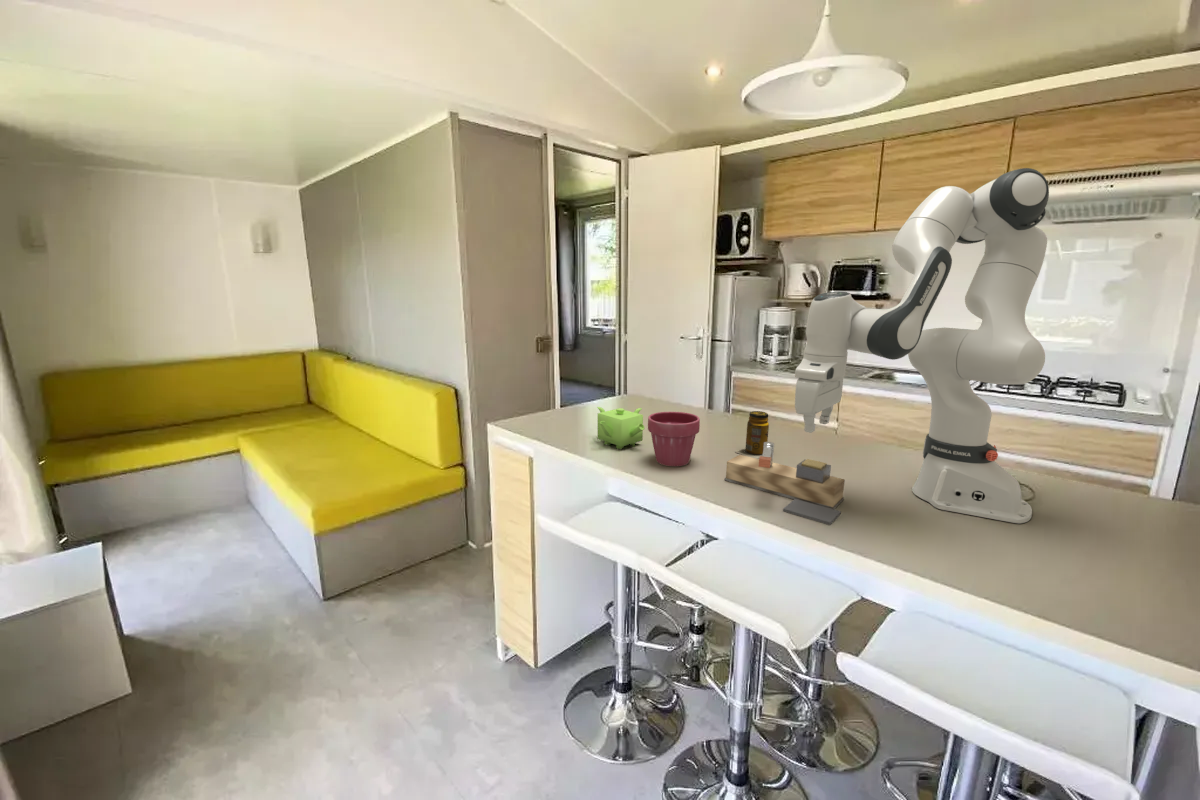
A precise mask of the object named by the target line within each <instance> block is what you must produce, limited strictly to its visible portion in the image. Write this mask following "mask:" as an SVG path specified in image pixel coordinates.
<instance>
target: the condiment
mask: <svg viewBox="0 0 1200 800" xmlns="http://www.w3.org/2000/svg"><path fill="white" fill-rule="evenodd" d="M748 415H749V416H748V421H747V425H746V435H745V436H746V438H745V448H742V449H739V450H737V451H735V453H737V454H739V455H743V456H747V457H752V458H756V459H759V458H760V456H762V455H763V447H764V442H769V441H768V440H769V438H768V437H769V430H770V429H769V428H770V427H769V426H770V424H769V413H767V412H765V411H761V410H760V411H759V410H753V411H750V412H749V413H748Z"/></svg>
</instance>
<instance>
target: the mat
mask: <svg viewBox="0 0 1200 800" xmlns="http://www.w3.org/2000/svg"><path fill="white" fill-rule="evenodd" d="M782 512H784V513H788V514H791V515H794V516H798V517H802V518H805V519H809V520H811V521H816V522H818V523H821V522H822V523H823V524H825V525H829V526H831V525H832V524H833V523H834V522H835V521H836V519H838V518H839V516H840V515H841V513H842V511H841V510H838V509H836V508H835V509H831V508H827V507H824V506H820V505H816V504H813V503H809V502H805V501H802V500H798V499H792V500H791V501H790V502H789V503H788V504H787V505H785V506H784V507H783V508H782ZM832 522H833V523H832Z"/></svg>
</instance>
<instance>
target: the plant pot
mask: <svg viewBox="0 0 1200 800" xmlns="http://www.w3.org/2000/svg"><path fill="white" fill-rule="evenodd" d="M700 419H701V418H700V417H699V416H698V415H695V414H694V413H689V412H685V411H684V412H682V411H659V412H655V413H651V414H650V415H649V416H648V417H647V430H648V432H649V433H650V434H651V436H650V437H651V440H652V446H653V452H654V455H655V460H656V462H657V463H658V464H660V465H662V466H667V467H682V466H686V465H688V464H689V463H690V459H691V455H692V451H693V447H694V444H695V439H696V436H697V434H698V433H699V432H700V427H701V426H700V425H701V423H700V421H701V420H700Z"/></svg>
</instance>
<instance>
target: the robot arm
mask: <svg viewBox="0 0 1200 800" xmlns="http://www.w3.org/2000/svg"><path fill="white" fill-rule="evenodd" d="M1049 189H1050V187H1049V182H1048V180H1047V179H1046V177H1045V176H1044V174H1042V173H1041V172H1040V171H1039V170H1037V169H1034V168H1029V167H1024V168H1022V167H1021V168H1017V169H1014V170H1010V171H1008V172H1005V173H1003V174H1000V176H998V177H997V178H994V179H992V180H991V181H988V182H987V183H985V184H984V185H982V186H980V187H979V188H977V189H975V191H973V192H971V193H970V192H968V191H967V190H965V189H964V188H962V187H959V186H955V185H945V186H941V187H940V188H939V187H938V188H937V189H935V190H934V191H932V192H931V193H930V194H929V195H928V196H927V197H926V198H925V199H924V200H923V201H921V203H920V204H919V205H918V206H917V207H916V209H914V210H913V212H912V213H911V214H910V216H908V218H907V220H906V221H905V223H904V224H903V225H902V226H901V228H899V231H898V232H897V233H896V235H895V238H894V240H893V242H892V247H891V248H892V255H893V257H894V259H895V261H896V263H897V264H898V265H899V266H900V267H902V269H904V270H905V271H906V272H908V273H910V274H911V275H913V277H912V279H911V281H910V283H909V285H908V287H907V289H906V291H905V293H903V294H904V295H903V296H902V298H901V299H900V302H899V303H898V304H896V305H895V306H893V307H891V308H887V309H883V308H882V309H881V308H871V307H866V306H865V305H863V304H860V303H859V302H858V301H856V300H855V299H854V298H853V297H852V294H851V293H850V292H848V291H830V292H823V293H820V294H818V295H816V296H815V297H813V299H812V301H811V303H810V305H809V309H808V313H807V314H808V315H807V319H806V320H807V321H806V329H805V335H806V336H805V337H806V345H805V347H804V349H803V356H802V357H803V358H802V359H801V362H800V363H799V365H797V366H796V368H795V371H794V376H795V378H796V379H797V380H796V384H795V390H794V391H795V393H794V396H795V397H794V410H795V412H796V414H797V415H802V417H803V421H804V422H803V423H804V432H805V433H809V434H812V433H813V432H815V430H816V423H815V418H816V415H817V414H819V413H820V412H821V414H820V415H819V424H822V425H827V424H829V423H830V418H831V415H832V412H833V409H834V406H835V405H837V404H838V403H840V402H841V400H842V396H843V387H844V386H843V385H844V378H845V376H846V371H847V370H846V369H847V361H848V351H854V352H858V353H863V354H867V355H874V356H877V357H880V358H884V359H888V360H893V361H894V360H899V359H902V358H904V357H905V356H907V355H908V359H909V361H910V364H911V366H912V367H913V368H914V369H916V370H917V371H916V372H918V373H919V374H920V375H921V377H922V378H923V380H924V381H925V383H926V386H927V389H928V392H929V394H930V401H931V410H930V411H931V412H930V422H929V430H928V433H927V434H926V436H925V439H924V444H923V451H922V454H923V455H922V457H923V460H922V464H921V468H920V471H919V473H918V476H917V479H916V480H915V483H914V485H913V486H912V487H911V491H912V493H913V494H914V495H915V496H916V497H918V498H919V499H922V500H923V501H926V502H928V503H929V504H931V506H933V507H934V508H935V509H939V510H942V511H948V512H953V513H959V514H965V515H971V516H975V517H980V518H987V519H992V520H996V521H1002V522H1007V523H1013V524H1024V523H1027V522H1029V521H1030V520H1031V519H1032V515H1033V510H1032V508H1033V507H1032V506H1031V505H1030V504H1029V503H1028V502H1027V501H1025V500H1024V499H1022V490H1021V486H1020V482H1019V481H1018V480H1017V479H1016V478H1015V476H1013V475H1012V474H1011V473H1009V471H1008V470H1006V469H1005V468H1004V467H1002V466H1001V465H1000V464H999V463H998V462H997V460H998V458H999V453H998V449H997V447H996V446H997V445H995V444H993V445H992V444H991V443H989V442H988V439H989V438H988V437H989V434H990V433H989V432H990V427H991V420H992V417H993V415H992V413H993V412H992V409H991V407H990V405H989V404H988V403H987V402H986V401H985V400H984V399H983V398H981V397H979V396H978V395H977V394H976V393H975V392H974V391H973V389H972V387H971V382H970V381H974V382H980V383H985V384H992V385H993V384H994V385H1025V384H1027V383H1029V382H1031V381H1032V380H1035V378H1037V377H1038V376H1039V374H1040V373H1041V371H1042V370H1043V368H1044V366H1045V363H1046V353H1045V350H1044V347H1043V345H1042V343H1041V342H1040V341H1039V340H1038V339H1037V338H1036V337H1035V336H1034V335H1032V333H1031V332H1030V330H1029V329H1028V327H1027V323H1026V309H1027V306H1028V303H1029V299H1030V297H1031V295H1032V292H1033V290H1034V287H1035V285H1036V282H1037V281H1038V277H1039V275H1040V272H1041V269H1042V267H1043V264H1044V261H1045V257H1046V251H1047V247H1048V246H1047V245H1048V237H1047V235H1046V233H1045V232H1044V231H1043V230H1042V229H1040V227H1036V226H1037V225H1038V224H1039V223H1041V221H1043V219H1044V217H1045V216H1046V207H1047V205H1048V203H1049V198H1050V197H1049V196H1050V190H1049ZM983 241H984V245H985V247H984V253H983V256H982V258H981V260H980V262H979V264H978V267H977V269H976V271H975V273H974V275H973V277H972V280H971V282H970V284H969V287H968V290H967V291H966V293H965V295H964V303H965V306H966V308H967V310H968V311H969V312H970V313H971V314H973V316H975V317H976V318H978V319H980V320H981V323H980V326H979V327H978V328H977V329H967V328H953V327H937V328H936V327H935V328H928V329H926V328H925V329H924V325H925V323H926V321H927V318H928V317H929V315H930V312H931V311H932V309H933V307H934V306H935V305H934V304H935V303H936V301H937V299H938V296H939V295H940V294H941V291H942V289H943V287H944V285H945V283H946V280H947V279H948V276H949V274H950V272H951V269H952V263H953V257H952V255H951V253H950V252H951V249H952V248H953V247H954V245H955V243H958V244H962V245H964V244H965V245H968V244H977V243H980V242H983Z"/></svg>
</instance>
